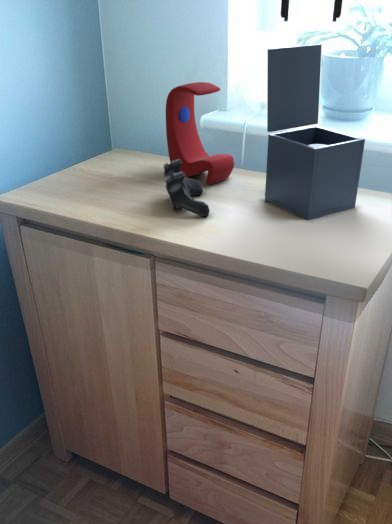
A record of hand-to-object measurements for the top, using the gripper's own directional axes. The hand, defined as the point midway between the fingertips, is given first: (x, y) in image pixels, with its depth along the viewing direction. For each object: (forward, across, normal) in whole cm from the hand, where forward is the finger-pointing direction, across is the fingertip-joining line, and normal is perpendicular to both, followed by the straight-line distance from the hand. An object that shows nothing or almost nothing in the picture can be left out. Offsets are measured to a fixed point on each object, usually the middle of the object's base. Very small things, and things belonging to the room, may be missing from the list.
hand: (309, 21), depth 101 cm
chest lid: (+11, -2, +1) cm, 12 cm away
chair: (+33, -22, +11) cm, 41 cm away
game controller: (+33, -22, -8) cm, 40 cm away
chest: (+32, +3, -4) cm, 33 cm away
